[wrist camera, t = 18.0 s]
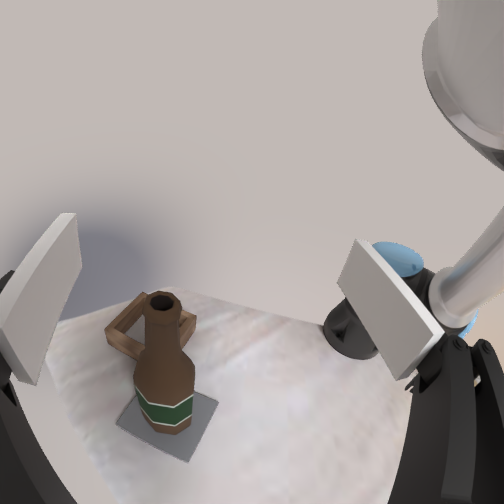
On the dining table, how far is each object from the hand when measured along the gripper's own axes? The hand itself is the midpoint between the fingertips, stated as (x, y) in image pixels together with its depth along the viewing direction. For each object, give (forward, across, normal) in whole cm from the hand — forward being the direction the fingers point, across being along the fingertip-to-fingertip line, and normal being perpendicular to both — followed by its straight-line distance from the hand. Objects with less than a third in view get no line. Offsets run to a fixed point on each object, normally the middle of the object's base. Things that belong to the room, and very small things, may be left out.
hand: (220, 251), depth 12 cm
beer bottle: (+8, -3, -35) cm, 36 cm away
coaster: (+8, -3, -35) cm, 36 cm away
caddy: (+24, -6, -35) cm, 43 cm away
